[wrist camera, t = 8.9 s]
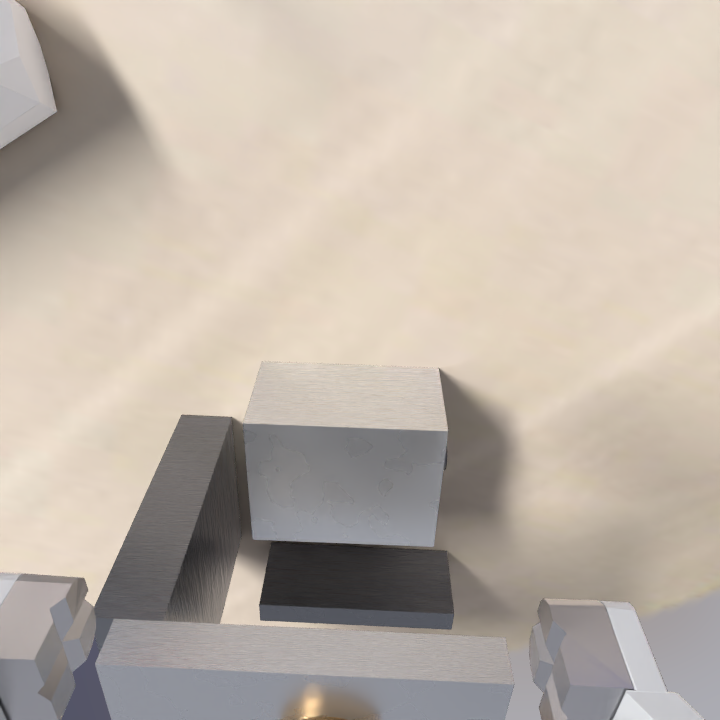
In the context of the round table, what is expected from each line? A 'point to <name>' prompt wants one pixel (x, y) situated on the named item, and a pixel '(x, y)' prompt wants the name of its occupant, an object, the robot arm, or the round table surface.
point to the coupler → (277, 616)
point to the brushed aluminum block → (345, 453)
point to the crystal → (21, 75)
